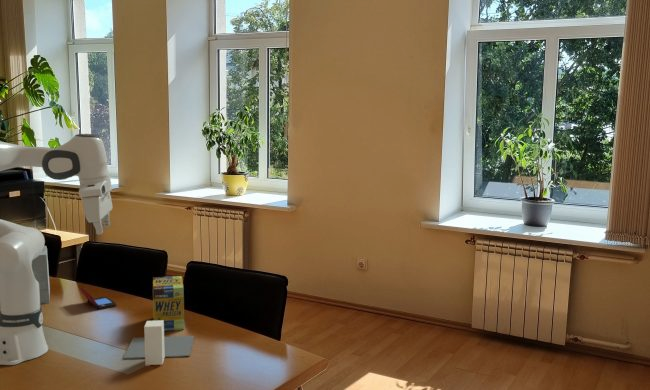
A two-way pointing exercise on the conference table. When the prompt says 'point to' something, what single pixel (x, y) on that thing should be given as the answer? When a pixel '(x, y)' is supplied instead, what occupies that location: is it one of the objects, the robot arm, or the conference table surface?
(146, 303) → the conference table surface
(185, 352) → the mat
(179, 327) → the protein box
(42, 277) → the hard drive box
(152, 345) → the tall block
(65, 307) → the conference table surface
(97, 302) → the handheld game console
